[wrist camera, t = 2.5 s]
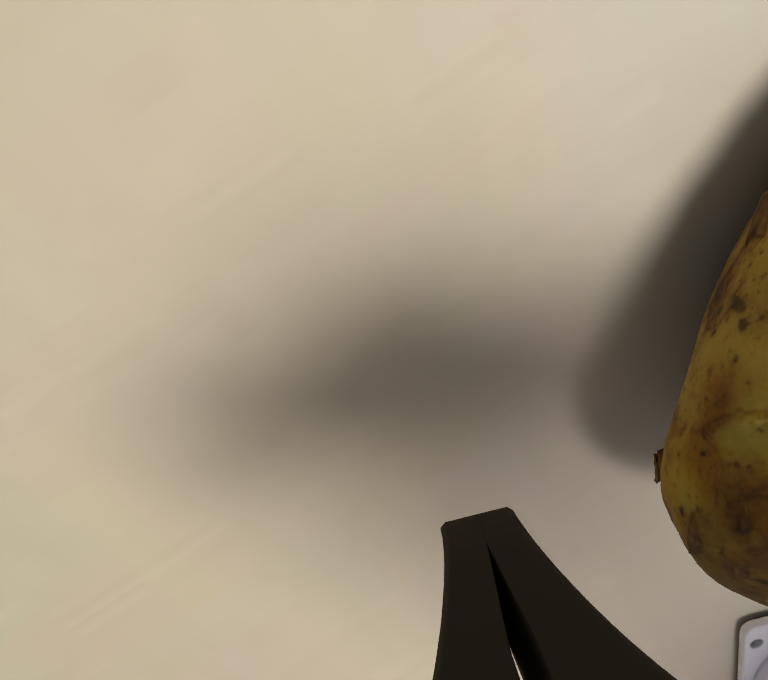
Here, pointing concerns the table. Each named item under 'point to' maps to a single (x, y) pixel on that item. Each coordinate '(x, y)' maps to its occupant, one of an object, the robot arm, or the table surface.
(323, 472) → the table surface
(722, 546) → the potato
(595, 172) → the table surface
